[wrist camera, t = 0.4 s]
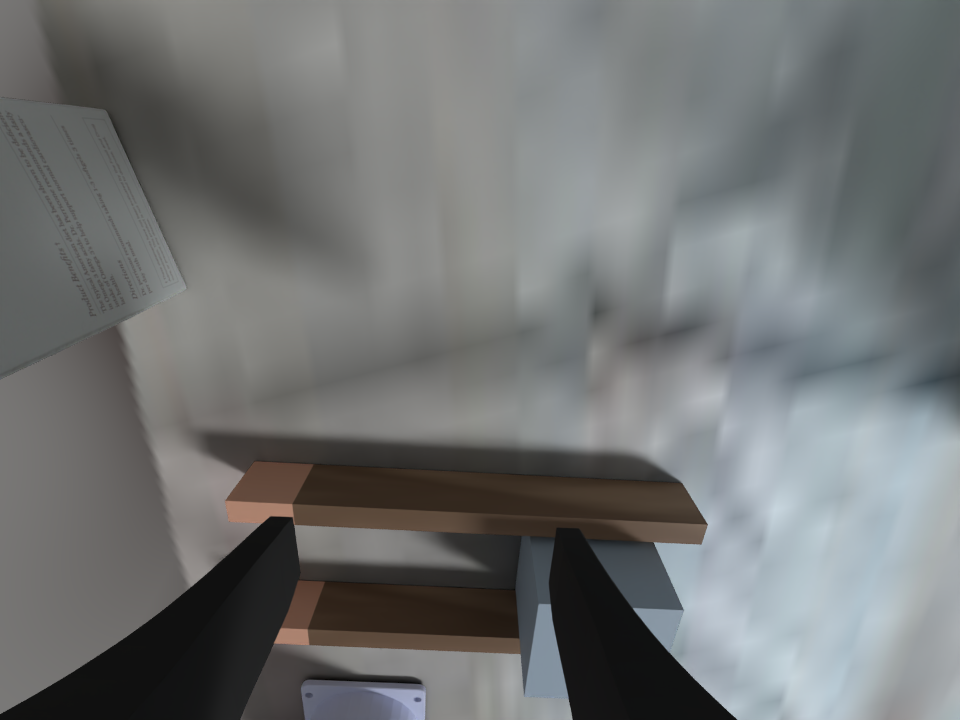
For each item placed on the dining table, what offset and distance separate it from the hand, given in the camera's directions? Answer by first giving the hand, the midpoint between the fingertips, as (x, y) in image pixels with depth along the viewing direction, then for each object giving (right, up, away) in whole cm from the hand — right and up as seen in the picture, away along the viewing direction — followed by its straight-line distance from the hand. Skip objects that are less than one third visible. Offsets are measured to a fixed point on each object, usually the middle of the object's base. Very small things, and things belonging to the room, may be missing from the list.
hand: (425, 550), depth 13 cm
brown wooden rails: (+1, -5, +13) cm, 14 cm away
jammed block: (+7, -5, +13) cm, 16 cm away
